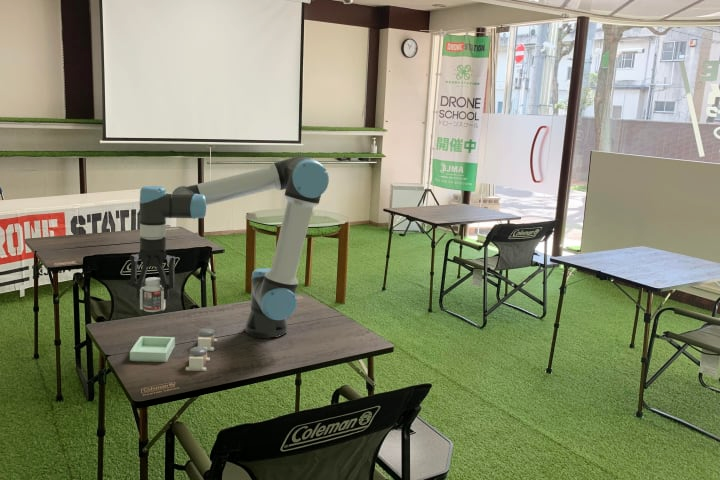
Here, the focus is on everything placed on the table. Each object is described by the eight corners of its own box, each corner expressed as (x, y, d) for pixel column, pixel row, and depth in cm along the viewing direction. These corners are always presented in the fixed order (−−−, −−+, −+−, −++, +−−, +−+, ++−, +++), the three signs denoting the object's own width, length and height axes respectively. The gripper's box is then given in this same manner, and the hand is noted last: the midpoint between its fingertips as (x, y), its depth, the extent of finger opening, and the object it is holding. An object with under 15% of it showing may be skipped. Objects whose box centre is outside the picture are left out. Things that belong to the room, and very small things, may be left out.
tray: (174, 345, 208) (174, 337, 207) (166, 361, 195) (166, 352, 194) (140, 344, 207) (140, 336, 206) (129, 360, 194) (129, 351, 193)
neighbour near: (207, 361, 197) (208, 347, 196) (205, 368, 192) (205, 353, 191) (191, 361, 197) (191, 346, 196) (188, 368, 192) (188, 353, 191)
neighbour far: (215, 342, 213) (215, 328, 212) (213, 348, 208) (213, 334, 207) (199, 342, 212) (199, 328, 211) (197, 348, 207) (197, 333, 206)
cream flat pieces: (217, 340, 214) (217, 329, 213) (205, 370, 191) (206, 358, 190) (199, 340, 214) (199, 329, 213) (185, 370, 190) (185, 358, 189)
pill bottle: (156, 313, 194) (156, 282, 192) (139, 311, 195) (139, 280, 193) (165, 307, 200) (165, 277, 198) (149, 305, 201) (149, 275, 199)
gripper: (186, 235, 197) (185, 305, 202) (124, 232, 195) (125, 303, 200) (181, 241, 190) (180, 313, 195) (117, 237, 188) (118, 311, 193)
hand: (152, 308), depth 197 cm, fingers closed on pill bottle, 6 cm apart
